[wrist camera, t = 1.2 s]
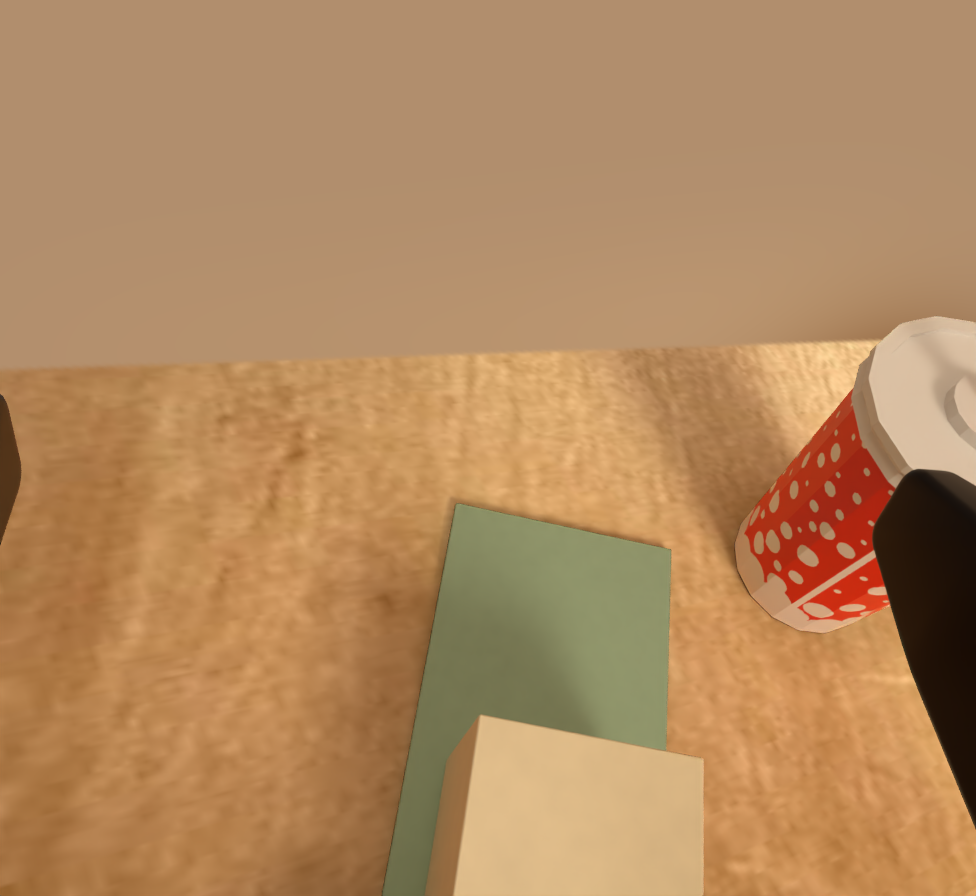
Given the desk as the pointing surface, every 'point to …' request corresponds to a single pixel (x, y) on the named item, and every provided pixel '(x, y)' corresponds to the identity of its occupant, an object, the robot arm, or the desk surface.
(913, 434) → the beverage cup
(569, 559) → the line mat
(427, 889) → the cream block
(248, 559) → the desk surface
